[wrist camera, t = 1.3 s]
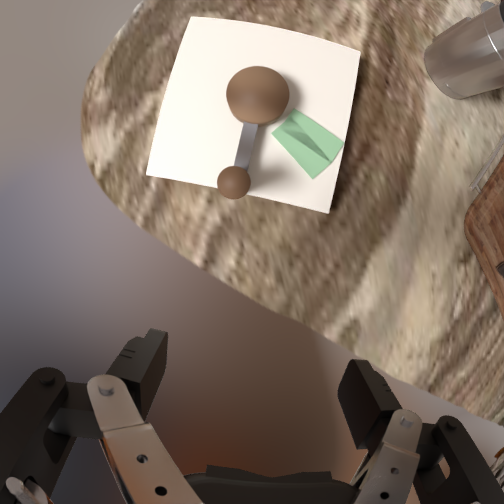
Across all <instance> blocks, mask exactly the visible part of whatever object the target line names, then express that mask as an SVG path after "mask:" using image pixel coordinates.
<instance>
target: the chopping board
mask: <svg viewBox="0 0 504 504" xmlns="http://www.w3.org/2000/svg"><path fill="white" fill-rule="evenodd" d="M503 143H504V134H503V136H502V138H501V139H500V141H499V143H498V144H497V146H496V148H495V149H494V151H493V152H492V154H491V155H490V157H489V159H488V160H487V162H486V163H485V165H484V166H483V168H482V169H481V171H480V172H479V173H478V175H477V176H476V178H475V179H474V181H473V182H472V184H471V185H470V186H469V188H470V189H471V190H472V191H473V190H474V188H475V187H476V189H477V191H478V193H479V194H478V196H477V197H476V199H475V200H474V201H473V203H472V204H471V206H470V207H469V209H468V211H467V213H466V216H465V221H464V231H465V235H466V238H467V240H468V242H469V244H470V246H471V247H472V249H473V251H474V253H475V255H476V257H477V259H478V261H479V263H480V265H481V268H482V270H483V272H484V274H485V276H486V278H487V281H488V283H489V285H490V287H491V290H492V292H493V294H494V297H495V299H496V302H497V304H498V307H499V309H500V312H501V315H502V318H503V320H504V155H503V157H502V159H501V160H500V162H499V164H498V165H497V167H496V168H495V170H494V172H493V173H492V175H491V176H490V178H489V179H488V181H487V182H486V184H485V185H484V187H483V188H482V190H480V188H479V186H478V182H479V181H480V180H481V178H482V177H483V175H484V174H485V172H486V171H487V169H488V167H489V166H490V164H491V163H492V161H493V160H494V158H495V156H496V155H497V153H498V152H499V150H500V148H501V147H502V145H503Z"/></svg>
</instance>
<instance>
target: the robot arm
mask: <svg viewBox="0 0 504 504" xmlns="http://www.w3.org/2000/svg"><path fill="white" fill-rule="evenodd" d="M424 60H425V65H426V68H427V71H428V73H429V75H430V77H431V79H432V80H433V82H434V83H435V84H436V85H437V87H438V88H439V89H440V90H441V91H442V92H443V93H445V94H446V95H448V96H450V97H452V98H455V99H462V98H466V97H469V96H472V95H476V94H480V93H483V92H487V91H490V90H494V89H498V88H502V87H504V1H502V2H500V3H498V4H496V5H494V6H493V7H491V8H489V9H487V10H486V11H484V12H482V13H481V14H479V15H477V16H476V17H474V18H472V19H471V18H469V17H466V18H464V19H463V20H461V21H460V22H458V23H456V24H455V25H453V26H452V27H450V28H449V29H447V30H446V31H444V32H443V33H441V34H440V35H438V36H437V37H435V38H434V39H433V43H432V44H431V45H429V46H428V47H427V48H426V50H425V55H424ZM167 344H168V332H165V331H161V330H156V329H152V328H151V329H150V330H149V331H148V333H147V334H146V336H145V338H141V337H135V338H133V339H131V340H130V341H128V342H127V344H126V345H125V346H124V348H123V350H122V351H121V352H120V354H119V356H117V358H116V359H115V361H114V362H113V364H112V365H111V367H110V368H109V370H108V371H107V373H106V374H105V375H98V376H95V377H93V378H92V379H91V380H90V381H89V382H88V383H87V384H84V383H74V382H66V378H65V375H64V374H63V373H62V372H61V371H60V370H58V369H55V368H51V367H45V368H40V369H38V370H36V371H35V372H33V374H32V375H31V376H30V377H29V378H28V379H27V381H26V382H25V383H24V384H23V386H22V387H21V388H20V390H18V392H17V393H16V394H15V395H14V397H13V398H12V399H11V401H10V402H9V403H8V405H7V406H6V407H5V408H4V410H3V411H2V412H1V413H0V504H53V502H52V501H51V500H50V497H51V495H52V492H53V490H54V488H55V485H56V483H57V480H58V478H59V476H60V474H61V471H62V469H63V467H64V465H65V462H66V460H67V458H68V456H69V454H70V452H71V450H72V447H73V445H74V443H75V441H76V439H77V437H83V438H92V439H99V441H100V443H101V446H102V448H103V451H104V453H105V456H106V458H107V461H108V463H109V465H110V468H111V470H112V472H113V475H114V477H115V479H116V482H117V484H118V486H119V489H120V491H121V493H122V495H123V497H124V499H125V501H126V503H127V504H405V503H406V500H407V498H408V494H409V492H410V489H411V486H412V483H413V485H414V487H415V490H416V493H417V495H418V498H419V501H420V504H504V492H503V491H502V489H501V487H500V485H499V483H498V481H497V480H496V478H495V476H494V475H493V473H492V471H491V469H490V468H489V466H488V465H487V463H486V461H485V459H484V458H483V456H482V454H481V453H480V451H479V450H478V448H477V446H476V445H475V443H474V442H473V440H472V439H471V437H470V435H469V434H468V432H467V431H466V429H465V428H464V426H463V425H462V423H461V422H460V421H459V420H458V419H456V418H454V417H452V416H442V417H440V418H439V420H438V421H437V423H436V424H428V423H422V420H421V418H420V417H419V416H418V415H417V414H416V413H414V412H412V411H410V410H406V409H402V407H401V405H400V404H399V402H398V400H397V399H396V397H395V395H394V394H393V392H391V389H390V387H389V386H388V384H387V382H386V381H385V379H384V377H383V376H381V375H380V374H379V373H378V372H376V371H374V370H373V368H372V366H371V365H370V363H369V362H368V361H367V360H357V359H352V360H350V361H349V363H348V365H347V368H346V370H345V373H344V375H343V377H342V380H341V382H340V384H339V388H338V399H339V402H340V405H341V407H342V410H343V413H344V415H345V418H346V421H347V424H348V426H349V429H350V432H351V435H352V438H353V440H354V443H355V446H356V449H368V453H367V454H366V455H365V457H364V459H363V461H362V463H361V465H360V466H359V468H358V470H357V472H356V474H355V475H354V477H353V479H352V481H351V482H350V484H347V483H345V482H341V481H338V480H334V479H332V476H331V472H330V471H329V472H301V473H296V474H291V475H286V476H280V477H273V478H271V477H266V476H262V475H258V474H255V473H251V472H248V471H244V470H241V469H235V468H227V467H219V466H212V465H207V468H206V472H205V473H194V474H188V475H184V476H183V475H182V474H181V472H180V471H179V469H178V468H177V466H176V465H175V463H174V462H173V460H172V459H171V457H170V456H169V454H168V452H167V451H166V449H165V447H164V446H163V444H162V443H161V441H160V440H159V438H158V436H157V434H156V432H155V431H154V429H153V427H152V426H151V424H150V423H148V422H147V423H145V420H146V418H147V415H148V413H149V410H150V408H151V405H152V403H153V400H154V398H155V395H156V393H157V390H158V388H159V386H160V383H161V381H162V378H163V376H164V373H165V369H166V363H167ZM443 457H445V459H446V461H447V463H448V465H449V467H450V475H449V477H448V478H447V479H446V478H445V476H444V474H443V472H442V470H441V468H440V466H439V464H438V463H439V462H440V461H441V460H442V458H443Z"/></svg>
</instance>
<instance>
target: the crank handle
mask: <svg viewBox="0 0 504 504" xmlns="http://www.w3.org/2000/svg"><path fill="white" fill-rule="evenodd" d="M289 96H290V92H289V87H288V85H287V82H286V81H285V79H284V78H283V77H282V76H281V75H280V74H279V73H278V72H276V71H275V70H273V69H271V68H268V67H264V66H251V67H247V68H244V69H242V70H240V71H239V72H237V73H236V74H235V75H234V76H233V77H232V78H231V80H230V81H229V83H228V86H227V89H226V98H227V102H228V105H229V108H230V111H231V113H232V114H233V116H234V117H235V118H236V119H237V120H239V121H240V122H242V123H243V128H242V132H241V136H240V140H239V145H238V149H237V153H236V158H235V162H234V166H229V167H227V168H225V169H223V170H222V171H221V172H220V174H219V176H218V179H217V187H218V190H219V192H220V193H221V194H222V195H223V196H224V197H226V198H229V199H239V198H241V197H243V196H245V195H246V194H247V192H248V191H249V189H250V186H251V179H250V176H249V174H248V173H247V172H248V167H249V163H250V158H251V154H252V150H253V146H254V141H255V137H256V133H257V128H258V127H261V126H267V125H269V124H272V123H274V122H275V121H277V120H278V119H279V118H280V117H281V116H282V114H283V113H284V111H285V108H286V106H287V104H288V101H289Z"/></svg>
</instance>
